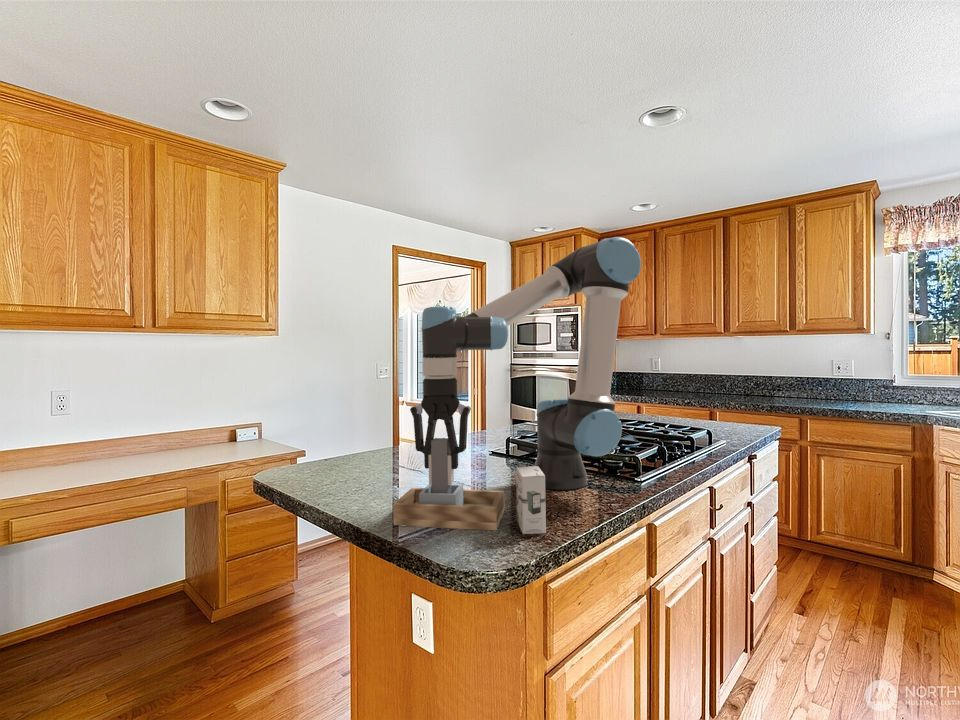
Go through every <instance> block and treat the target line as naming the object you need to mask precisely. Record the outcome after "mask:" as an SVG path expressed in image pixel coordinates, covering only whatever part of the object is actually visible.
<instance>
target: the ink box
mask: <svg viewBox="0 0 960 720" xmlns="http://www.w3.org/2000/svg"><path fill="white" fill-rule="evenodd" d="M515 471H516V472H515V473H516V475H515V476H516V478H515V480H516V481H515V482H516V483H515V484H516V485H515V487H516V495H515V496H516V522H517V524H518V527H519V529H520V531H521V533H522V535H534V534H535V535H536V534H547V521H546V520H547V517H546V516H547V514H546V509H547V508H546V488H545V475H544V474H543V472H542V471H541V469H540V468H539V467H538V466H534V465H533V466H530V465H529V466H524V467H523V466H519V467H518V466H517V467H516V468H515Z"/></svg>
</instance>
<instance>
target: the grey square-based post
mask: <svg viewBox="0 0 960 720" xmlns="http://www.w3.org/2000/svg"><path fill="white" fill-rule="evenodd" d="M450 453H451V451H450V446H449V441H448V437H445V438H444V437H434V439H433V440H432V441H431V464H432V485H429V483H428V485H426V486H425V487H423V488H424V489H423V490H422V491H421V492H420V493H419V504H441V505H463V489H464V484H452V485H448V461H447V455H449V454H450Z"/></svg>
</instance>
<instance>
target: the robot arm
mask: <svg viewBox="0 0 960 720" xmlns="http://www.w3.org/2000/svg"><path fill="white" fill-rule="evenodd" d="M641 270H642V259H641V255H640V253H639V251H638V249H637V248H636V247H635V244H634V243H632V242H631V241H630V240H629V239H627V238H625V237H621V236H614V237H608V238H603V239H601V240H600V241H597V242H594V243H591V244H588V245H586V246H581V247H579V248H577V249H575V250H574V251H572V252H571V253H569V254H567V255H566V256H564V257H562V258H561V259H560V260H558V261H557V262H555V263H553V264H552V265H550V266H548V267H547V268H546V269H545V273H543V274H541V275H539V276H537V277H536V278H533V279H531V280H530V281H528V282H526V283H524V284H523V285H520V286H519V287H517V288H515V289H513V290H511V291H509V292H508V293H505V294H504V295H502V296H500V297H498V298H497V299H495V300H492V301H490V302H489V303H487V304H485V305H483V306H481V307H479V308H478V309H476V310H474V311H472V312H470V313H469V314H466V315H465V316H459V315H458V314H457V310H456V308H455V307H452V306H429V307H426V308H424V309H423V310H422V314H421V318H422V319H421V341H422V342H421V343H422V376H423V377H425V378H423V380H422V397H423V398H422V400H421V402H420V403H419V404H417V405H413V406H411V407H410V410H409V411H410V413H411V416H412V418H413V429H414V443H415V444H414V445H415V451H416V452H421V453H423V455H424V459H423V460H424V462H423V463H424V465H423V466H424V468H425V469H428V484H429V485H432V464H431V441H432V440H433V439H435V432H436V428H437V427H436V426H437V422H438V420H441V421H444V422H443V423H444V425H445V430H446V435H447V438H448V441H449V446H450V451H451V453H450V454H449V455H447V461H448V485H454V484H455V470H457V469H458V467H459V454H460V453H463V452H465V450H466V449H467V444H468V443H467V441H468V438H467V437H468V419H469V415H470V413H471V410H472V409H471V406H469V405H464V404H461V403H460V400H459V397H458V379H457V378H456V376H457V375H458V366H457V365H458V364H457V363H458V354H457V352H461V351H488V350H489V351H493V350H502V349H503V348H504V347H505V346H506V345H507V343H508V338H509V328H508V326H511V325H512V324H514V323H515V322H517V321H520V320H521V319H523V318H525V317H526V316H529V315H531V314H532V313H534V312H536V311H538V310H540V309H541V308H543V307H544V306H546V305H548V304H550V303H552V302H554V301H555V300H557V299H561V300H563V299H564V300H565V299H567V298H568V297H570V296H572V295H574V294H577V293H582V295H583V296H584V297H585V306H584V316H583V323H582V331H581V340H580V347H579V348H580V349H579V354H578V355H579V356H578V365H577V372H576V373H577V374H576V381H575V391H574V392H572V393H571V394H570V395H569V396H567V398H562V399H561V398H560V399H550V400H549V399H547V400H540V401H539V402H538V403H537V407H536V409H537V410H536V418H537V420H536V422H537V423H536V426H537V429H536V430H537V431H536V432H537V434H536V435H537V456H536V460H535V462H534V465H533V466H538V467H539V468H540V469H541V471H542V472H543V474H544V475H545V489H548V490H558V491H559V490H560V491H561V490H564V491H565V490H577V489H579V488H584V487H586V486H587V485H588V474H587V471H586V468H585V465H584V462H583V459H582V455H585V456H592V457H602V456H605V455H607V454H610V453H611V452H612V450H614V449H615V448H616V447H617V446H618V444H619V442H620V440H621V438H622V433H623V425H622V421H621V420H620V419H619V418H620V417H619V416H618V414H617V413H615V408H616V402H615V401H614V399H613V398H612V396H611V389H612V380H613V374H614V373H613V371H614V362H615V354H616V346H617V337H618V330H619V329H618V328H619V320H620V312H621V303H622V300H624V299H625V298H626V297H627V296H628V295H629V289H630V283H632V282H633V281H635V280H636V278H638V276H639V275H640V273H641ZM423 410H424V412H425V413H426V415H427V416H428V418H427V419H428V420H427V428H426V435H425V438H424V427H423V425H424V424H423V416H422V414H423ZM457 410H458V414H459V415H460V417H459V430H458V431H459V436H458V440H457V435H456V430H455V429H456V428H455V425H454V414H455V413H456V411H457ZM424 439H425V440H424ZM581 454H582V455H581Z"/></svg>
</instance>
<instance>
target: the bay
mask: <svg viewBox="0 0 960 720" xmlns="http://www.w3.org/2000/svg"><path fill="white" fill-rule="evenodd" d="M424 488H425V487H411V488H410V489H409V490H407V491H406V492H405V493H404V494H403V495H402V496H400V498H398V500H397V501H395V502H394V503H393V504H392V505H393V506H392V508H393V509H392V510H393V512H392V514H393V515H392V516H393V526H394V525H406V526H405V527H414V528H415V526H416V528H417V527H419V528H434V529H435V528H437V529H455V530H456V529H460V530H464V529H465V530H479V531H481V530H482V531H497V530H498V528H499V525H500V522H501V520H502V518H503V515H504V512H505V490H497V489H496V490H493V489H492V490H490V489H465V488H463V505H441V504H419V493H420V492H421V491H422V490H423V489H424Z"/></svg>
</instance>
